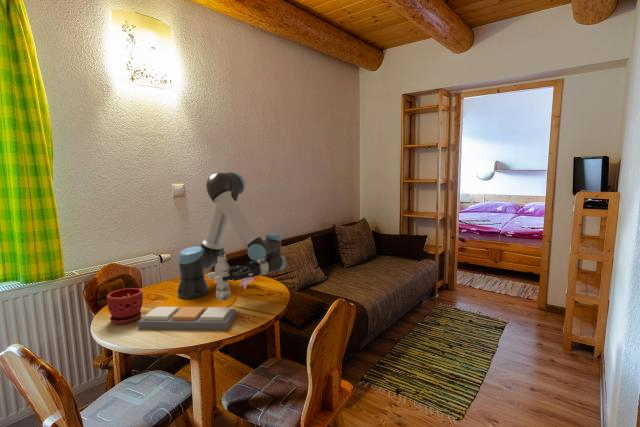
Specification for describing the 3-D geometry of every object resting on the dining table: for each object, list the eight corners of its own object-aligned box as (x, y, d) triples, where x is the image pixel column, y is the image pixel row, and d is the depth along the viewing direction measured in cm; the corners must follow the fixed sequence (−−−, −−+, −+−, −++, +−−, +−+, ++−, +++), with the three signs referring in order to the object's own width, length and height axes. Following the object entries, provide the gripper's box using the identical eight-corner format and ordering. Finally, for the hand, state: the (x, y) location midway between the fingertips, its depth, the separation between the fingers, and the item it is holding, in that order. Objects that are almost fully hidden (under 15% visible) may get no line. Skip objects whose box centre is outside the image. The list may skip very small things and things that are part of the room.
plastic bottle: (233, 297, 152) (232, 255, 150) (224, 303, 146) (223, 259, 143) (221, 295, 154) (220, 253, 152) (212, 301, 148) (210, 257, 145)
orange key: (183, 311, 143) (182, 306, 143) (204, 311, 143) (204, 307, 142) (172, 321, 134) (172, 316, 133) (195, 321, 133) (195, 316, 133)
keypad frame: (155, 314, 146) (155, 308, 145) (236, 315, 144) (236, 309, 144) (138, 328, 133) (137, 321, 132) (226, 329, 131) (226, 322, 131)
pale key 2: (209, 311, 143) (208, 307, 142) (230, 311, 142) (230, 307, 142) (200, 321, 133) (200, 316, 133) (223, 321, 133) (223, 317, 133)
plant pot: (140, 323, 137) (138, 296, 136) (104, 328, 134) (101, 299, 132) (147, 311, 150) (145, 285, 148) (114, 314, 146) (112, 288, 145)
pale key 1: (157, 311, 144) (156, 306, 143) (178, 311, 143) (178, 306, 143) (144, 320, 134) (144, 316, 134) (167, 321, 134) (167, 316, 134)
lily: (239, 283, 188) (232, 271, 183) (258, 274, 190) (252, 262, 185) (243, 297, 178) (236, 284, 173) (263, 286, 180) (257, 274, 175)
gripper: (268, 280, 154) (221, 292, 139) (247, 270, 168) (202, 281, 153) (267, 264, 153) (221, 275, 138) (246, 256, 167) (202, 265, 152)
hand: (211, 278), depth 145 cm, fingers closed on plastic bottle, 6 cm apart
